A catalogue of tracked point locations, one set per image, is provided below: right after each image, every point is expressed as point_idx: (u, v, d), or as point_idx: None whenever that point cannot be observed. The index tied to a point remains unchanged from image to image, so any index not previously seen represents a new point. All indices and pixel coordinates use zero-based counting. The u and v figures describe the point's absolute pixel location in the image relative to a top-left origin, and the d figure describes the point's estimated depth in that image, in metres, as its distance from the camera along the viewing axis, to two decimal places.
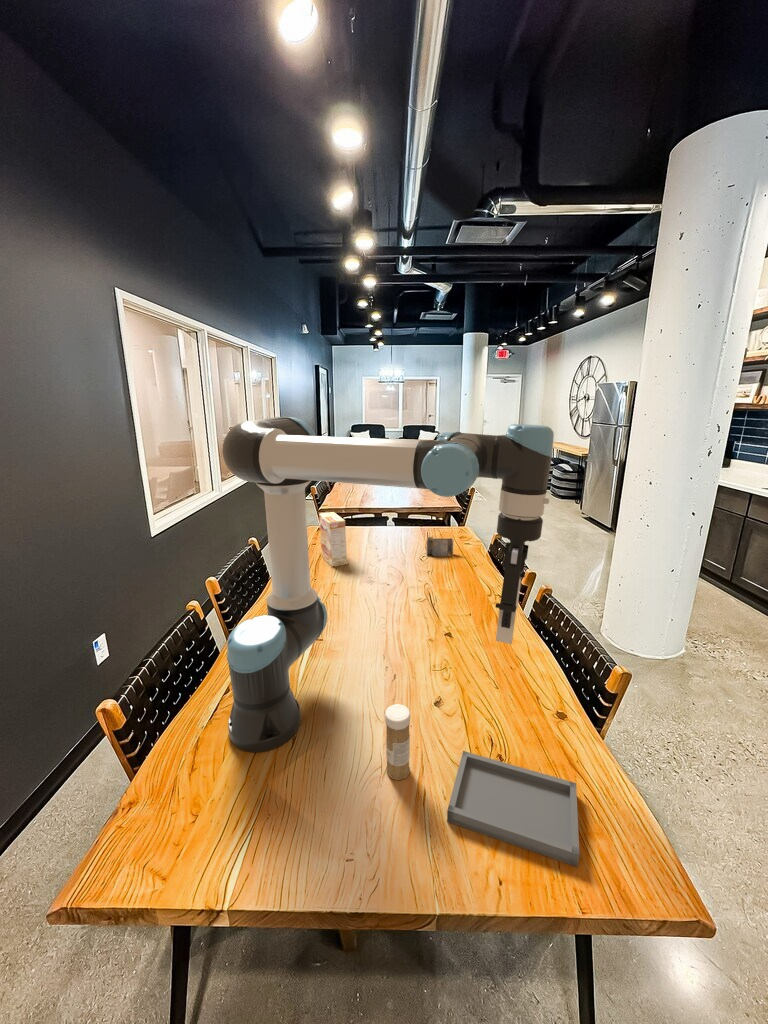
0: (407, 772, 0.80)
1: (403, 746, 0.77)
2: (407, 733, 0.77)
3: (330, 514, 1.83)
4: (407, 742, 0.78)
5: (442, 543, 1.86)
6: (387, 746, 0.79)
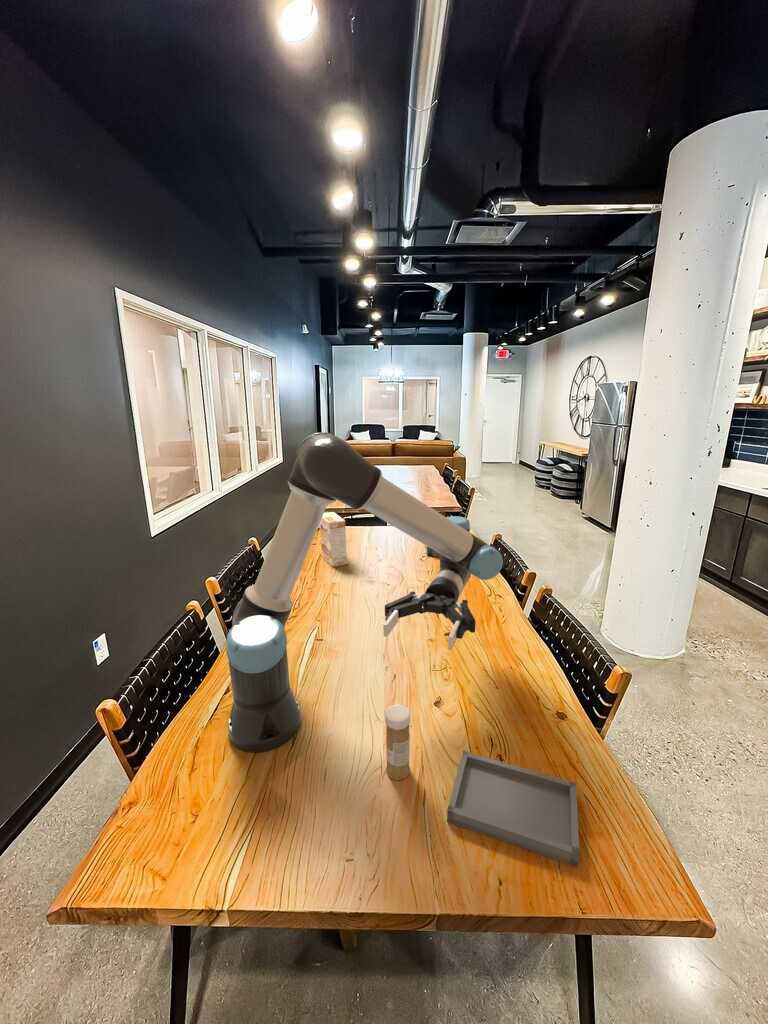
0: (407, 772, 0.80)
1: (403, 746, 0.77)
2: (407, 733, 0.77)
3: (330, 514, 1.83)
4: (407, 742, 0.78)
5: None
6: (387, 746, 0.79)
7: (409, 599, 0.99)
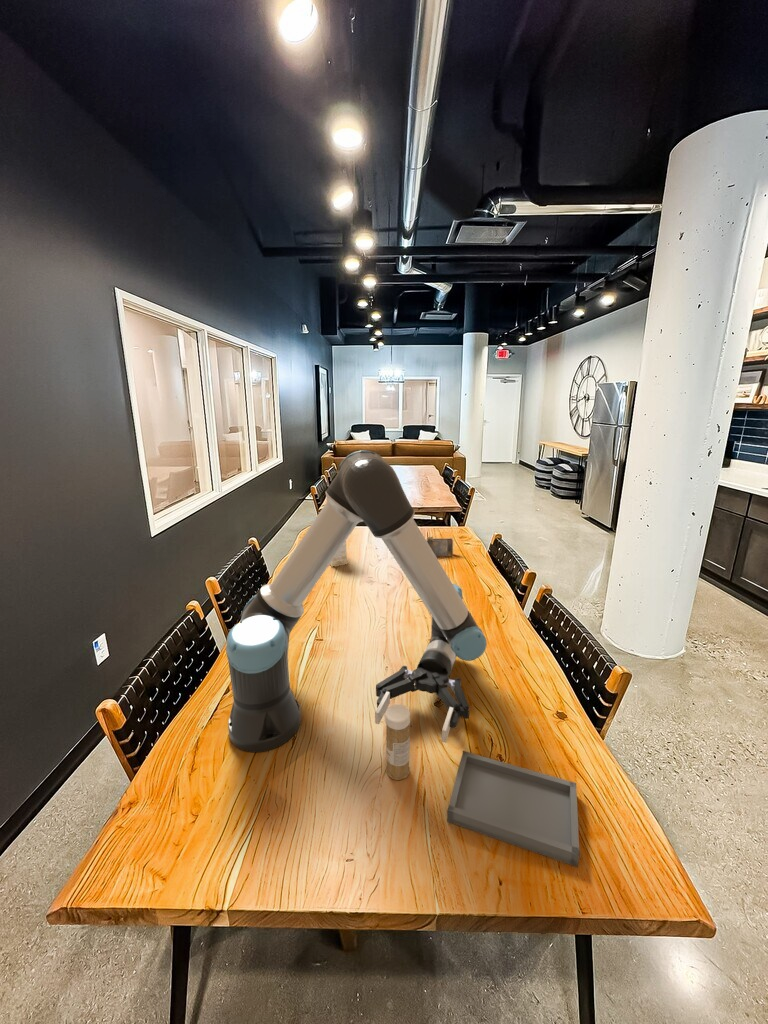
0: (407, 772, 0.80)
1: (403, 746, 0.77)
2: (407, 733, 0.77)
3: None
4: (407, 742, 0.78)
5: (442, 543, 1.86)
6: (387, 746, 0.79)
7: (401, 676, 0.97)
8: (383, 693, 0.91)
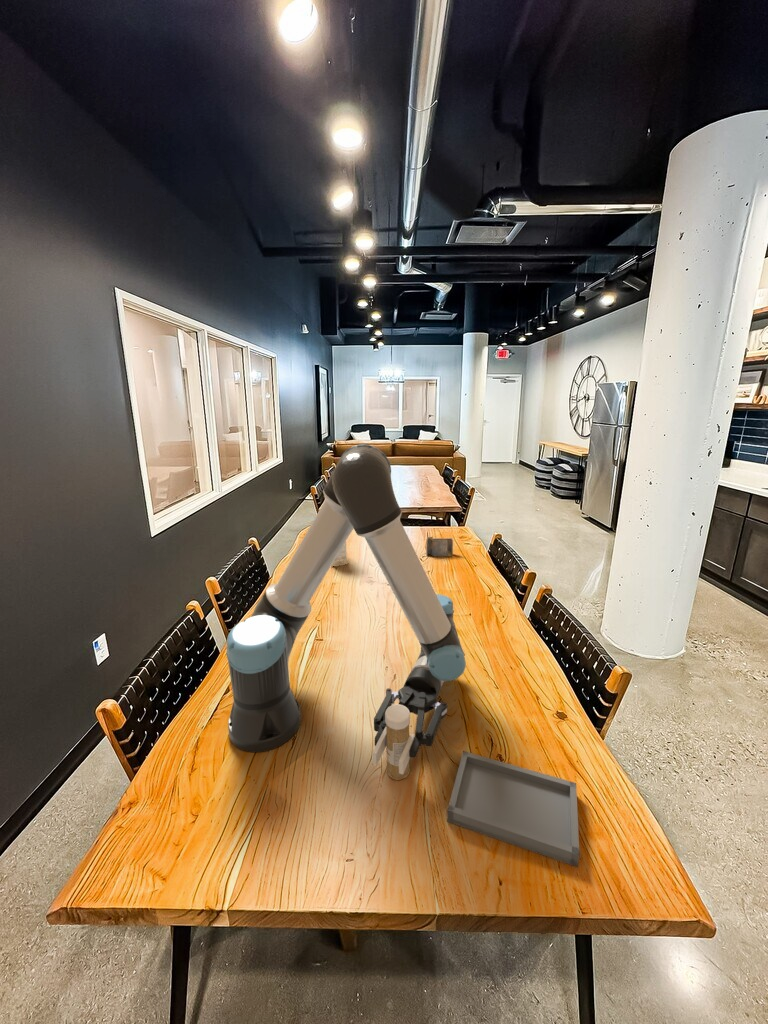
0: (407, 772, 0.80)
1: (403, 746, 0.77)
2: (407, 733, 0.77)
3: None
4: None
5: (442, 543, 1.86)
6: (387, 746, 0.79)
7: (390, 700, 0.89)
8: (382, 728, 0.81)
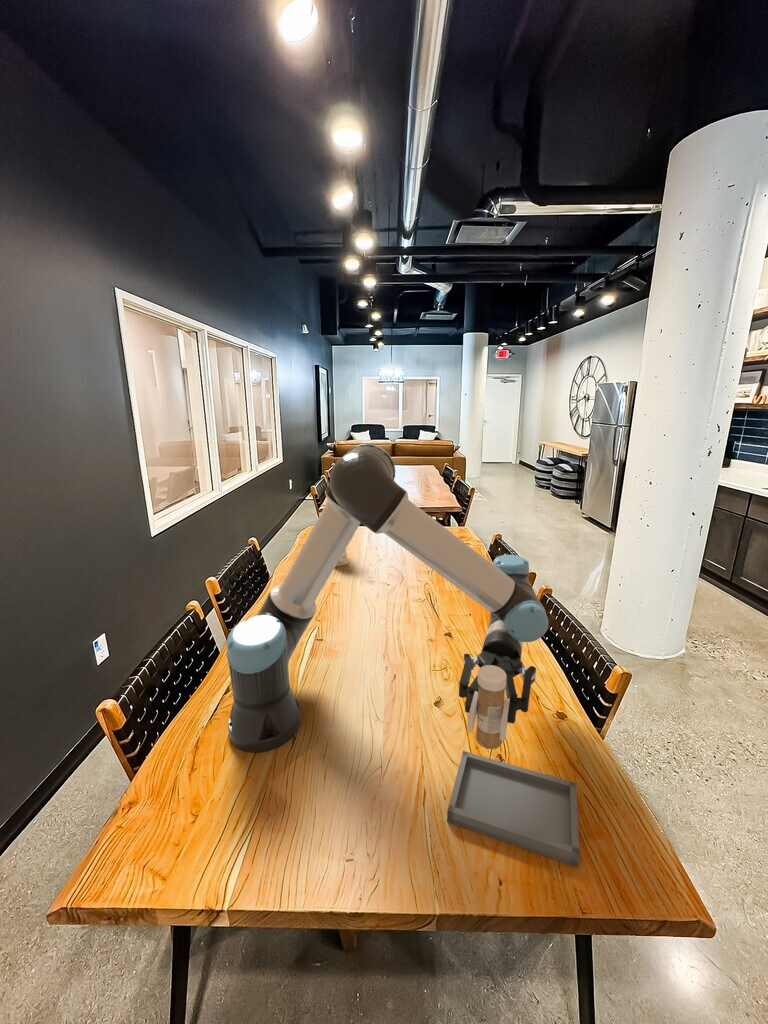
0: (501, 741, 0.72)
1: (499, 711, 0.69)
2: (503, 696, 0.69)
3: None
4: (503, 706, 0.70)
5: None
6: (479, 711, 0.70)
7: (471, 665, 0.80)
8: (470, 693, 0.73)
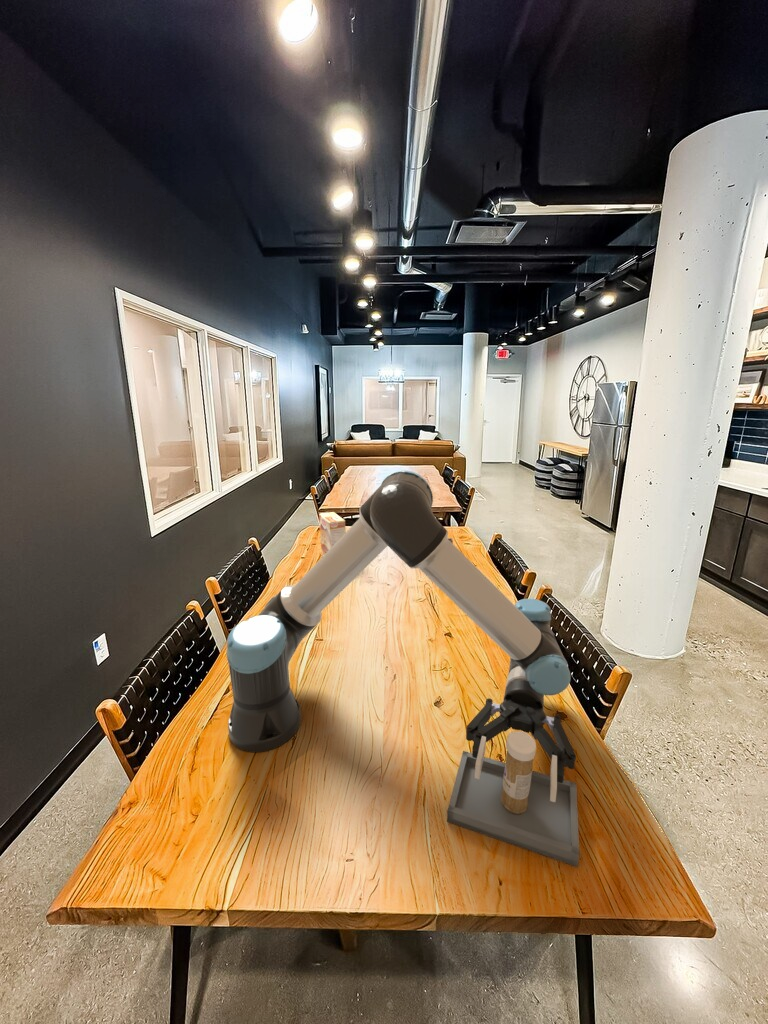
0: (526, 805, 0.72)
1: (527, 779, 0.69)
2: (532, 764, 0.69)
3: (330, 514, 1.83)
4: (531, 774, 0.70)
5: None
6: (507, 777, 0.71)
7: (489, 712, 0.82)
8: (477, 738, 0.75)
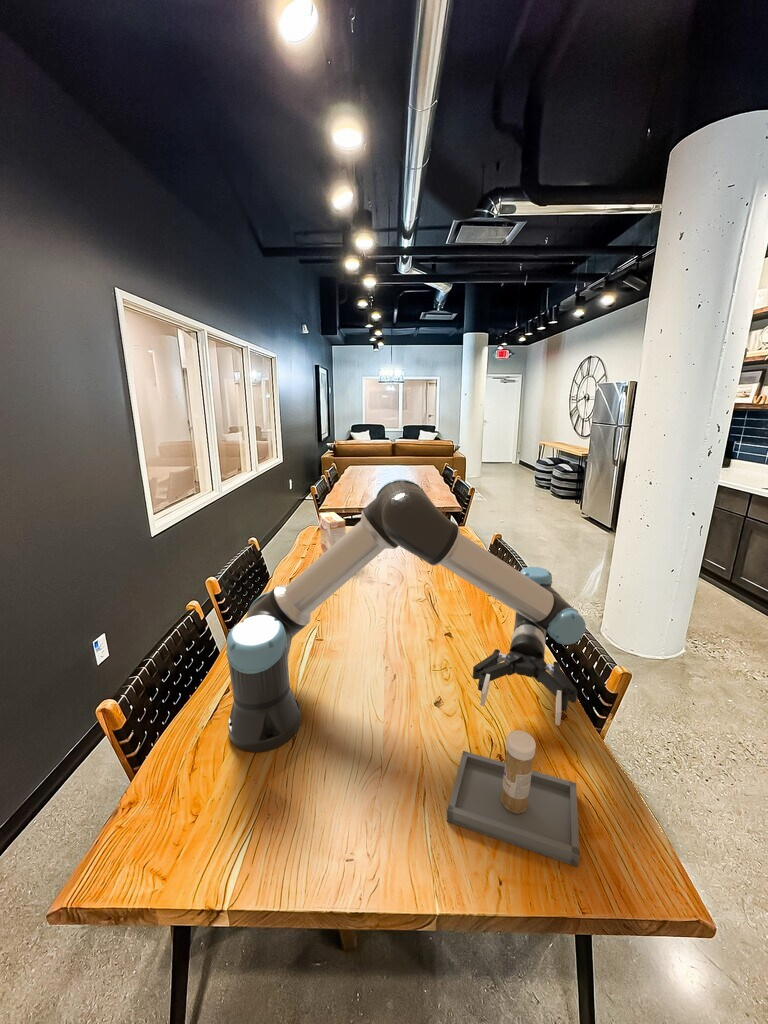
0: (526, 805, 0.72)
1: (527, 778, 0.69)
2: (532, 763, 0.69)
3: (330, 514, 1.83)
4: (531, 773, 0.70)
5: None
6: (507, 777, 0.71)
7: (495, 659, 0.94)
8: (483, 675, 0.88)
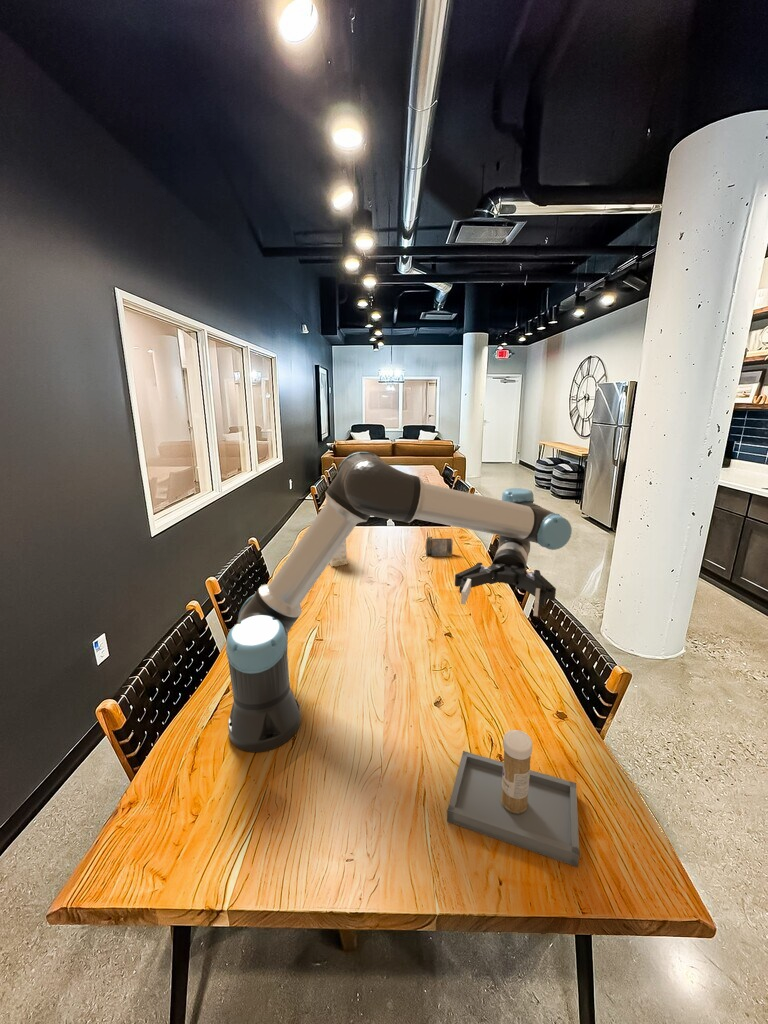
0: (526, 804, 0.72)
1: (525, 777, 0.69)
2: (529, 762, 0.70)
3: None
4: (529, 772, 0.70)
5: (441, 543, 1.86)
6: (505, 777, 0.71)
7: (477, 570, 0.96)
8: (464, 581, 0.90)
